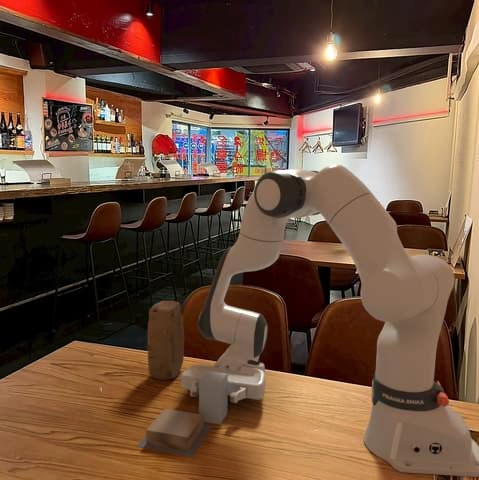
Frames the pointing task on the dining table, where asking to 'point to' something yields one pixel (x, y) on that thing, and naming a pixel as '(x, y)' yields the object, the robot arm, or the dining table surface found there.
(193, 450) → the build pad
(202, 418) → the base slab
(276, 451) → the dining table surface
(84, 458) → the dining table surface
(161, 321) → the block
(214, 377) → the pillar
